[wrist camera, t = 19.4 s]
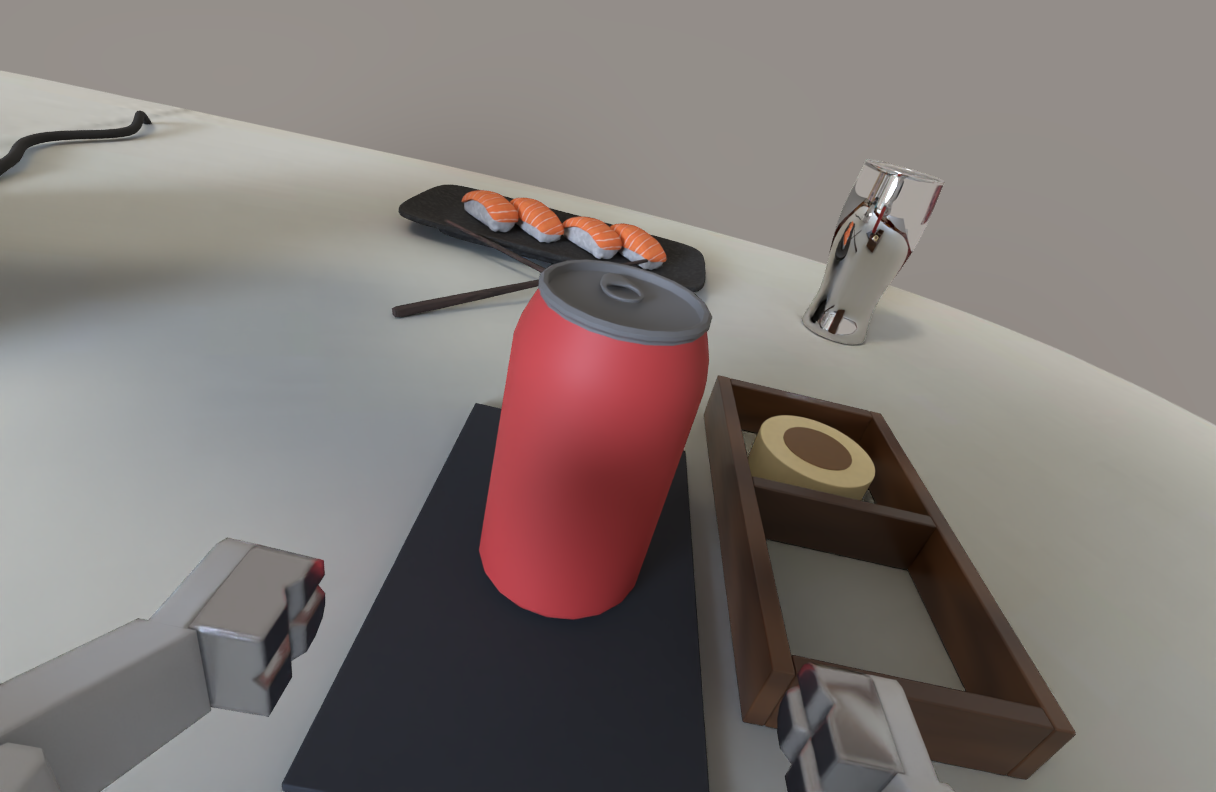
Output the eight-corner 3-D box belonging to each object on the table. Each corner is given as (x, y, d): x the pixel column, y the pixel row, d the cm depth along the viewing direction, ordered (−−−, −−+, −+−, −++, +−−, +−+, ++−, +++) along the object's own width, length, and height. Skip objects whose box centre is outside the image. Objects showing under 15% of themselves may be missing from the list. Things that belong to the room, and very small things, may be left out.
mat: (710, 874, 17) (715, 867, 17) (281, 792, 16) (281, 783, 16) (683, 456, 34) (685, 450, 34) (474, 408, 34) (475, 402, 33)
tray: (1027, 780, 22) (1078, 734, 20) (742, 722, 21) (772, 669, 20) (860, 451, 39) (881, 413, 38) (703, 414, 39) (717, 374, 37)
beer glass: (835, 349, 54) (915, 177, 46) (782, 314, 59) (846, 154, 51) (883, 346, 57) (964, 186, 50) (829, 313, 62) (896, 163, 55)
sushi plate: (699, 265, 66) (710, 231, 64) (701, 398, 40) (719, 348, 38) (443, 198, 66) (446, 162, 64) (281, 288, 40) (278, 232, 38)
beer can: (615, 507, 29) (689, 267, 23) (654, 625, 23) (764, 353, 17) (474, 504, 27) (512, 241, 21) (480, 633, 21) (535, 328, 15)
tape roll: (722, 459, 35) (737, 421, 33) (796, 443, 38) (813, 408, 37) (802, 536, 30) (823, 496, 29) (877, 510, 34) (900, 473, 33)
